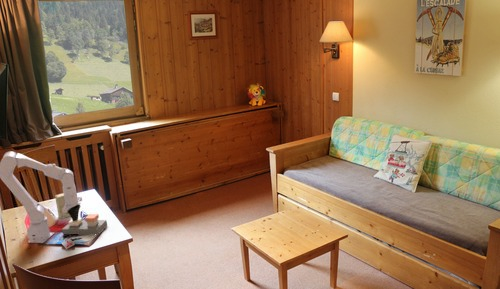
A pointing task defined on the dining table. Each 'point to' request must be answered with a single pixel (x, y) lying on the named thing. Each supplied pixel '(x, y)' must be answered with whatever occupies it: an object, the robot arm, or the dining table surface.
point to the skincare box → (61, 205)
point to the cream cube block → (75, 222)
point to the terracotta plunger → (92, 220)
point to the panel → (85, 228)
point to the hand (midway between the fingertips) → (75, 220)
